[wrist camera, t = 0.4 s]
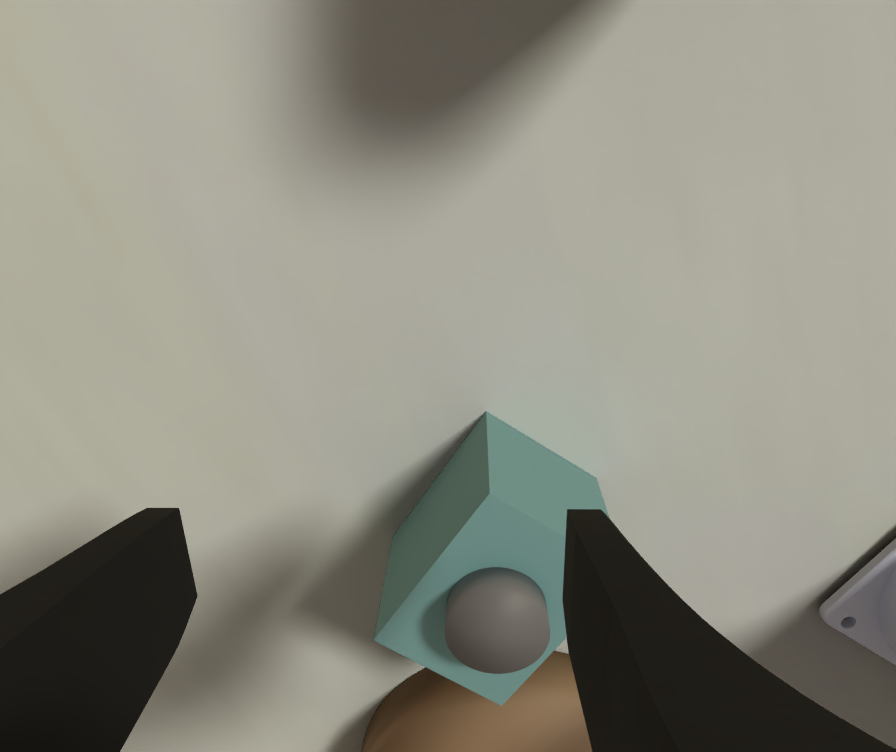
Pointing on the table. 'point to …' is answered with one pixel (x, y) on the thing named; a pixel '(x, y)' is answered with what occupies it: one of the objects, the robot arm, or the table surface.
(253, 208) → the table surface
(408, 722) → the stand
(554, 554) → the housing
